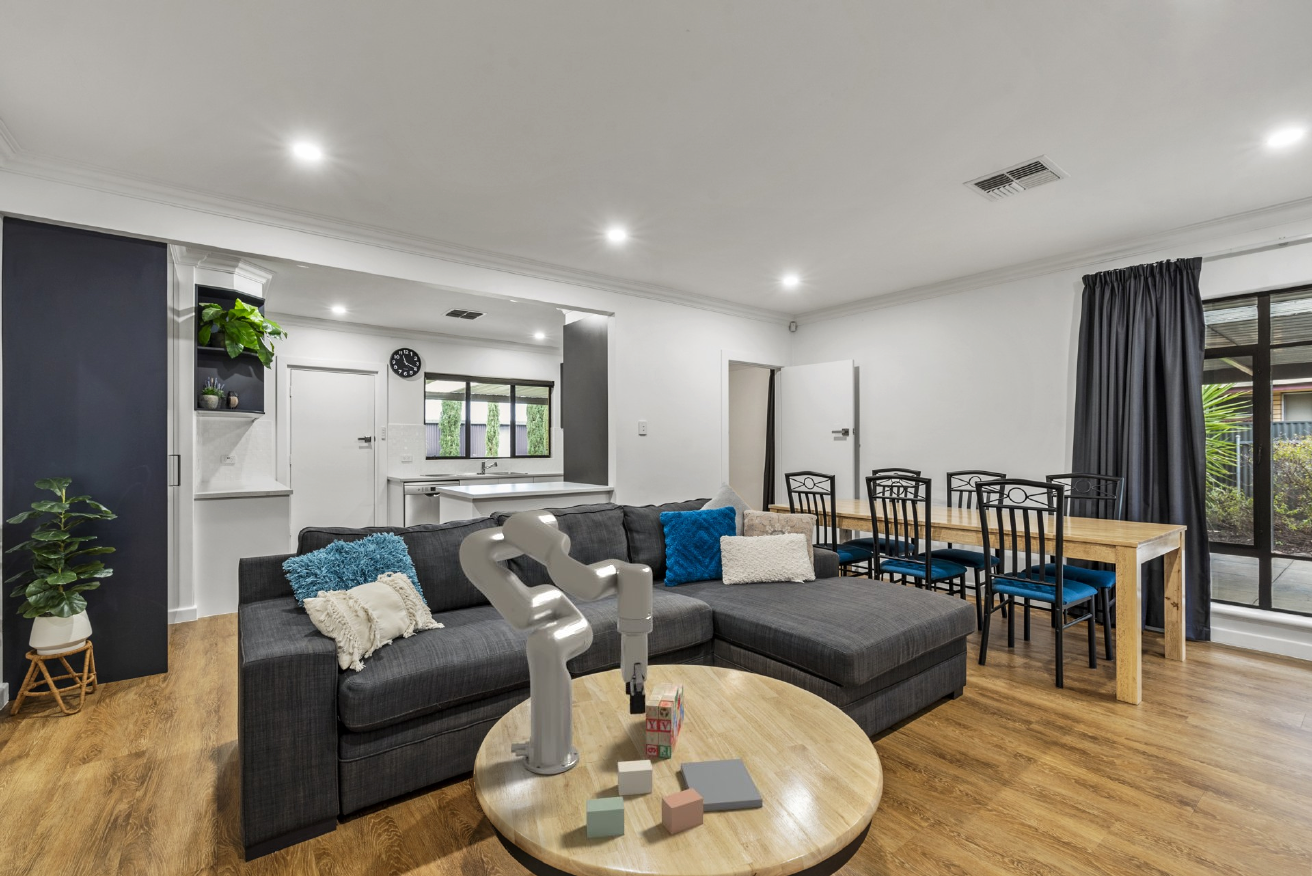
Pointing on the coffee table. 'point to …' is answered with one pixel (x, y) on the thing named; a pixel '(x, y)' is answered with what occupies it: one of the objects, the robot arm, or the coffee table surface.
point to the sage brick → (605, 817)
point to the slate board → (722, 784)
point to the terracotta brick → (682, 810)
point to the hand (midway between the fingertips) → (635, 703)
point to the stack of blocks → (664, 719)
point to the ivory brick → (634, 777)
